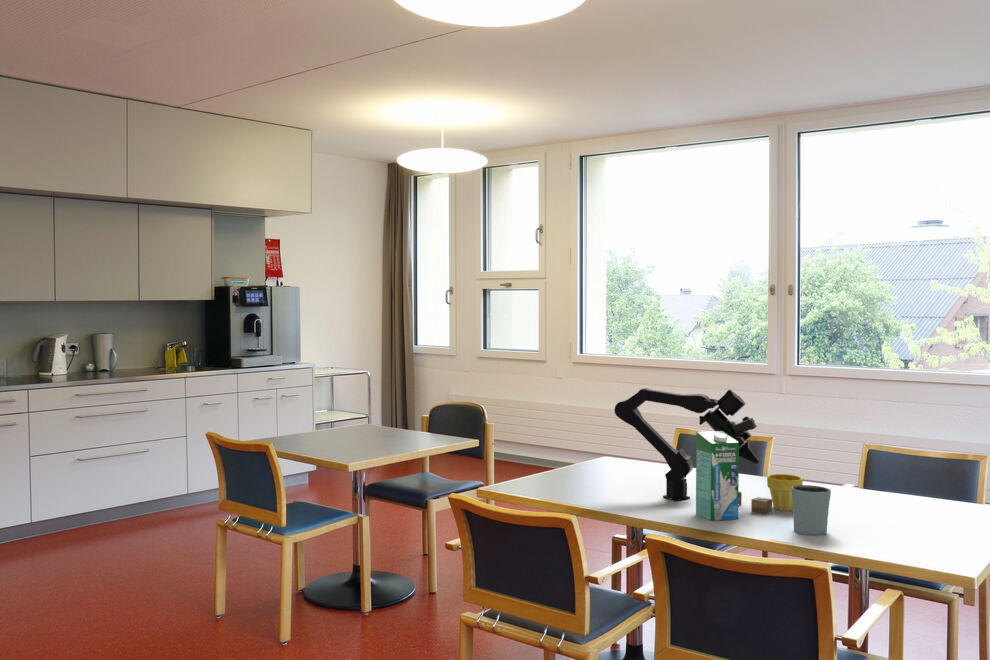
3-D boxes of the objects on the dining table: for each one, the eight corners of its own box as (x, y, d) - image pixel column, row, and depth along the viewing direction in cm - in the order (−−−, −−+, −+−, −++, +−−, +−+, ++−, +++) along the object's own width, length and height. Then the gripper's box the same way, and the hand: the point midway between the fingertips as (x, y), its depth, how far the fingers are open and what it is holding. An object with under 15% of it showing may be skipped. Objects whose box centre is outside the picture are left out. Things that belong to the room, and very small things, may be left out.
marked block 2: (765, 514, 245) (765, 500, 245) (751, 512, 248) (751, 498, 248) (772, 512, 248) (772, 498, 248) (758, 509, 251) (758, 496, 251)
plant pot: (778, 512, 247) (778, 480, 247) (760, 505, 257) (761, 474, 257) (809, 511, 249) (809, 479, 249) (790, 503, 259) (790, 473, 259)
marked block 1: (728, 505, 257) (728, 492, 257) (721, 502, 261) (721, 489, 261) (741, 504, 258) (741, 491, 258) (733, 501, 263) (733, 488, 263)
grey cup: (784, 531, 226) (785, 488, 225) (801, 524, 233) (801, 483, 232) (820, 538, 218) (821, 493, 218) (836, 531, 225) (836, 488, 225)
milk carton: (711, 521, 237) (711, 435, 236) (695, 513, 245) (696, 431, 245) (738, 519, 239) (739, 434, 239) (722, 512, 248) (722, 430, 247)
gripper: (736, 411, 250) (773, 450, 245) (744, 406, 267) (779, 441, 262) (710, 435, 253) (746, 474, 249) (719, 428, 270) (754, 464, 266)
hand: (757, 462), depth 256 cm, fingers closed
